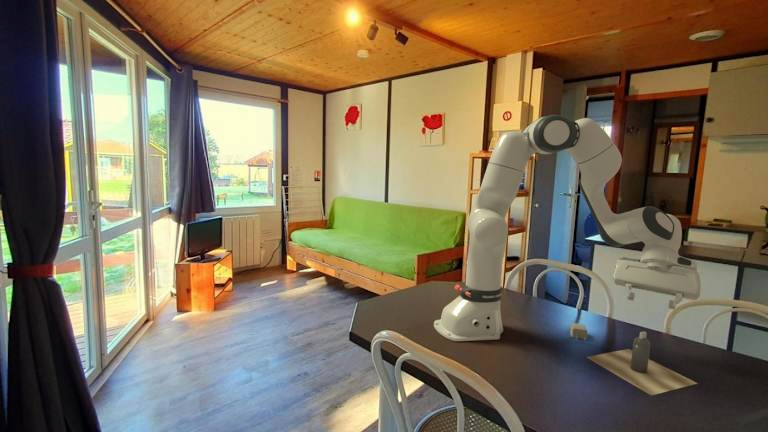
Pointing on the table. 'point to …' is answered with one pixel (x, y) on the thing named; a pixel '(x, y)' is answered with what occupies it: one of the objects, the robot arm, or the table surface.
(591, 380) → the table surface
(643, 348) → the dark bottle
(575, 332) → the usb wall charger
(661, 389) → the birch board
